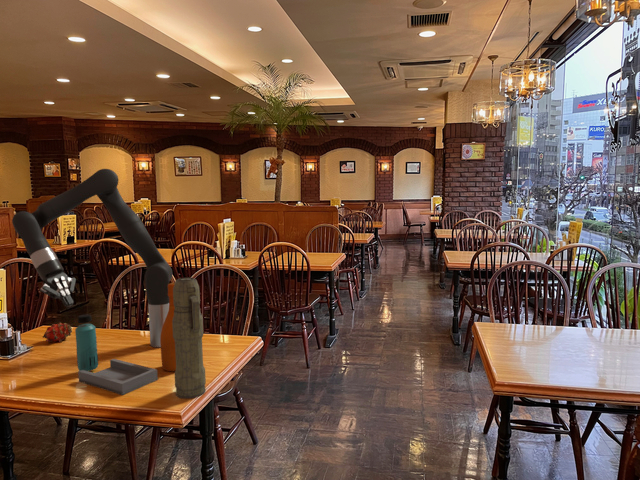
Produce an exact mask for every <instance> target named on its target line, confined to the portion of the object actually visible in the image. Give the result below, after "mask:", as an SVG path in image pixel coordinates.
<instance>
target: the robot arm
mask: <svg viewBox="0 0 640 480" xmlns="http://www.w3.org/2000/svg"><path fill="white" fill-rule="evenodd" d="M118 185H119V177H118V174H117V173H116V172H115V171H114V170H112V169H110V168H100V169H98V170H97V171H95V173H93V174H92V175H91V176H89V177H88V178H86V179H85V180H83V181H82V182H80V183H79V184H77V185H76V186H74V187H72V188H70V189H68V190H66V191H64V192H62V193H60V194H58V195H56V196H54V197H52V198H50V199H48V200H45V202H42V203H41V204H39V205H38V206H37V208H36V210H35V211H33V212H28V211H27V210H26V211H24V210H22V211H21V210H20V211H18V212H16V213H15V214H14V215H13V216H12V220H11V222H12V227H13V229H14V230H15V233H17V234H18V235H19V237H20V239H21V240H22V242H23V244H24V248H25V249H26V252H27V254H28V256H29V257H30V260H31V263H32V264H33V266H34V268H35V270H36V272H37V274H38V276H39V277H40V279H41V280H42V281H43V282H42V283H43V286H42V287H40V288H39V292H41V293H43V294H45V295H46V296H48V297H50V298H52V299H55V300H56V299H59V300H60V301H61V302H62V304H63V306H64V307H66V308H70V307H72V306H73V305H74V299H73V298H72V296H71V293H73V292H74V290H75V285H76V281H77V279H76V278H75V277H72V278H71V277H69V276H68V274H66V273H65V270H64V267H63V266H62V263H61V261H60V260H59V258H58V256H57V254H56V252H54V249H52V246H51V245H50V243H49V242H48V240H47V238H46V237H45V235H44V234H43V232H42V229H43V228H45V227H46V226H48V225H49V224H50V223H52V221H55V220H57V219H59V218H60V217H63V216H64V215H66V214H68V213H69V212H71V211H72V210H74V209H75V208H77V207H78V206H79V205H81V204H82V203H84V202H85V201H87V200H89V199H90V198H92V197H95V196H97V198H98V199H99V200H100V201H101V203H102V204H103V205H104V207H105V208H106V210H107V211H108V213H109V216H110V217H111V219H112V221H113V222H114V224H115V226H116V228H117V230H118V232H119V233H120V235H121V237H122V238H123V239H124V241H125V243H126V244H127V245H128V246H129V247H130V248H131V249H132V250H133V251H134V252H136V254H138V256H139V257H140V258H141V259H142V261H143V263H144V264H145V266H146V271H145V275H144V285H145V296H146V299H147V304H148V305H147V306H148V320H149V322H148V323H149V325H148V326H149V343H150V344H149V345H150V346H151V347H153V348H161V344H160V336H161V331H162V327H163V324H164V322H165V319H166V317H167V314H168V310H169V296H168V284H170V281H171V280H172V278H173V269H172V268H171V267H172V266H170V264H169V263H168V262H167V261H166V259H165V258H164V256H163V255H162V254H161V253H160V251H159V250H158V248H157V246H156V245H155V242H154V240H153V239H152V237H151V235H150V233H149V232H148V230H147V228H146V226H145V224H144V223H143V221H142V220H141V218H140V217H139V215H138V214H137V213H136V212H135V211H134V210H133V208H131V207H130V206H129V205H128V204H127V203H126V201H125V200H124V199H123V197H122V195H121V193H120V192H119V189H118Z"/></svg>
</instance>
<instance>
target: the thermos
mask: <svg viewBox="0 0 640 480" xmlns="http://www.w3.org/2000/svg"><path fill="white" fill-rule="evenodd" d="M174 283H175V284H174V288H173V302H174V308H175V310H174V316H173V320H172V326H173V338H174V340H175V354H176V371H174V387H175V396H176V397H177V398H179V399H186V400H187V399H188V400H189V399H195V398H199V397H200V396H201V397H202V396H203V395H204V394H205V393H206V384H207V383H206V382H207V381H206V380H207V379H206V369H205V366H204V358H203V357H204V355H203V354H204V353H203V337H204V318H203V314H202V313H201V307H200V305H201V298H200V297H201V296H200V295H201V294H200V293H201V292H200V285H199V283H198V280H197V279H196V278H194V277H191V276H190V277H180V278H177V279H175V280H174Z"/></svg>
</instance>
